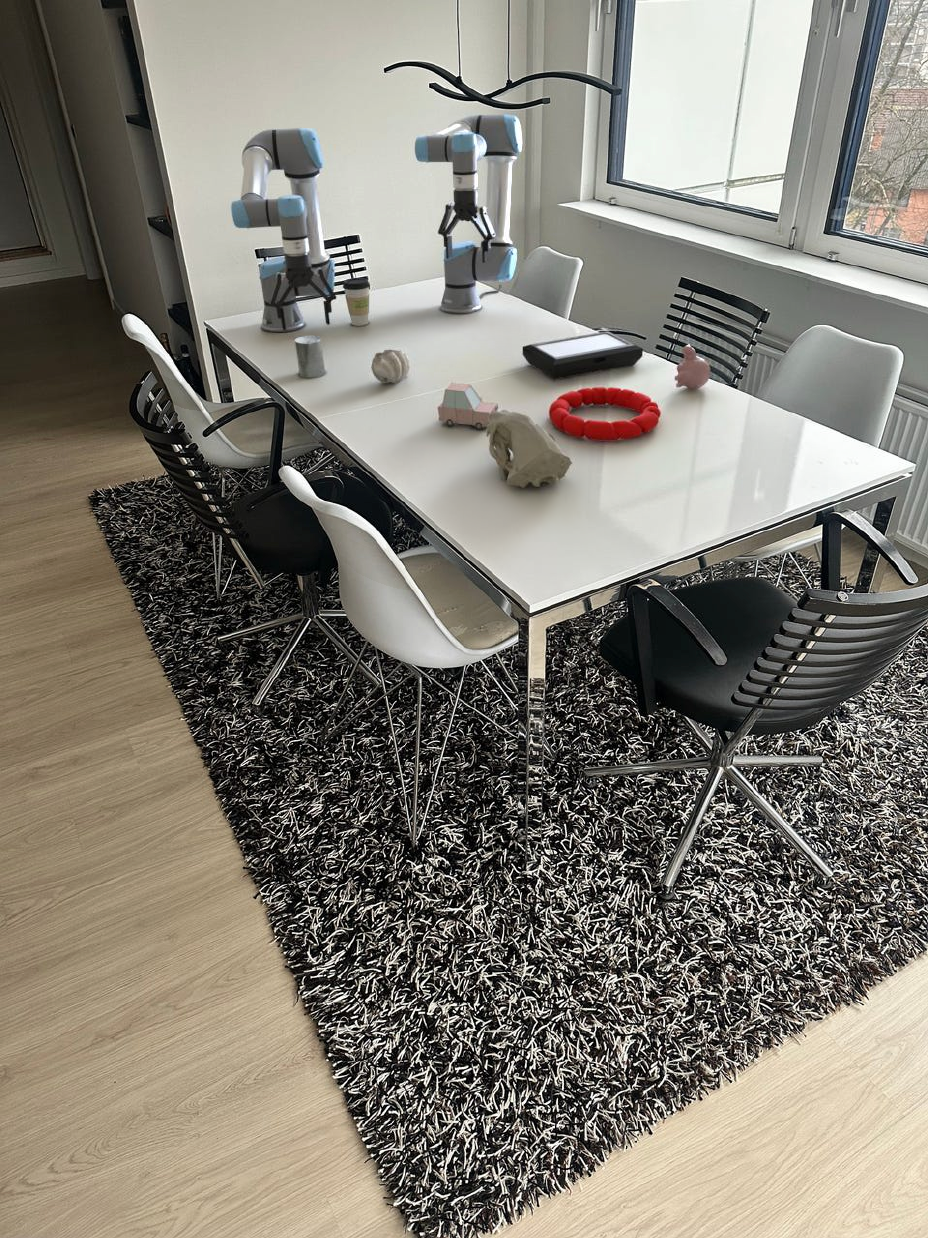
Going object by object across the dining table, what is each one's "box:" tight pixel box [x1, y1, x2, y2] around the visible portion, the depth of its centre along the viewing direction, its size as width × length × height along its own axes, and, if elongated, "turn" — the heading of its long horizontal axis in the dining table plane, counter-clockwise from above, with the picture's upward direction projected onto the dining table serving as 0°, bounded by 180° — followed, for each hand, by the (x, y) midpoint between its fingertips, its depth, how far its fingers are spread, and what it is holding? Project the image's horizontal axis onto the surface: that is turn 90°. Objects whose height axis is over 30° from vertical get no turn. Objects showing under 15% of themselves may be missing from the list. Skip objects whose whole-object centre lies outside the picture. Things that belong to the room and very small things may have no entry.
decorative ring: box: [548, 386, 661, 442], centre depth 242 cm, size 7×30×30 cm
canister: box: [294, 335, 326, 379], centre depth 280 cm, size 8×8×11 cm
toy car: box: [437, 382, 499, 431], centre depth 243 cm, size 9×15×10 cm, turn 70°
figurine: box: [674, 344, 711, 390], centre depth 259 cm, size 9×11×12 cm
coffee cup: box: [342, 277, 371, 327], centre depth 323 cm, size 10×10×15 cm
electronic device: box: [522, 330, 644, 381], centre depth 281 cm, size 32×6×20 cm
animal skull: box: [485, 409, 573, 489], centre depth 216 cm, size 17×25×20 cm
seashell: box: [371, 349, 411, 384], centre depth 271 cm, size 10×15×10 cm
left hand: (306, 326), depth 275 cm, fingers open, 13 cm apart
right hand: (467, 259), depth 291 cm, fingers open, 13 cm apart
